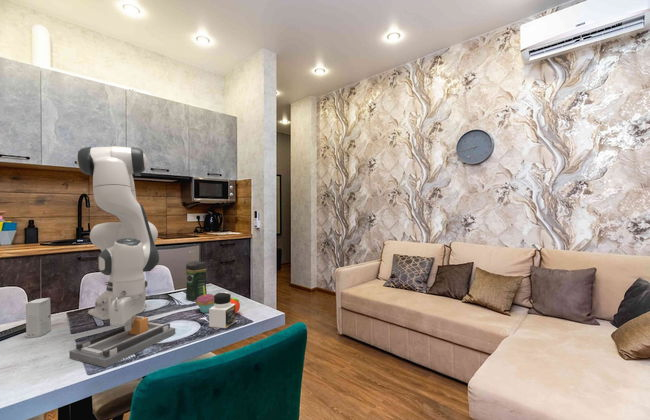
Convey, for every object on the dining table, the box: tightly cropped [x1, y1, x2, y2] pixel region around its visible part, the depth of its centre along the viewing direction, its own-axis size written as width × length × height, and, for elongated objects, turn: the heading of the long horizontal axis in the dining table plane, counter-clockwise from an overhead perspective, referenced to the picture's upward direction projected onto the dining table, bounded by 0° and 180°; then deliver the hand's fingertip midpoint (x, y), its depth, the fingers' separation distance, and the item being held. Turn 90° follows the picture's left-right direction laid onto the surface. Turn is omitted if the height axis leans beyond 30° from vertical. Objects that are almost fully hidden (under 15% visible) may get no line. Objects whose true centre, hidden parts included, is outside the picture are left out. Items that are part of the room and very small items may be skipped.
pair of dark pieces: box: [75, 323, 171, 356], centre depth 98 cm, size 13×22×1 cm, turn 159°
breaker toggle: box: [130, 314, 149, 335], centre depth 102 cm, size 5×3×6 cm, turn 69°
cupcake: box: [195, 285, 215, 314], centre depth 130 cm, size 9×8×12 cm
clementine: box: [230, 297, 242, 315], centre depth 126 cm, size 8×7×7 cm
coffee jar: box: [185, 260, 208, 302], centre depth 148 cm, size 10×8×19 cm
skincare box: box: [25, 297, 52, 339], centre depth 107 cm, size 6×4×12 cm
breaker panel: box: [68, 321, 176, 368], centre depth 98 cm, size 16×24×4 cm, turn 159°
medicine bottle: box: [208, 291, 236, 329], centre depth 115 cm, size 7×7×12 cm
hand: (129, 329), depth 99 cm, fingers closed
